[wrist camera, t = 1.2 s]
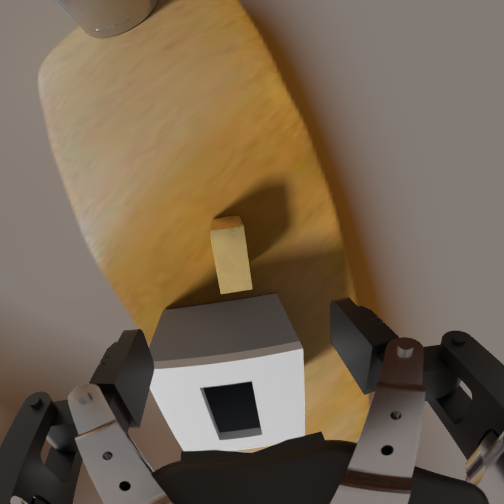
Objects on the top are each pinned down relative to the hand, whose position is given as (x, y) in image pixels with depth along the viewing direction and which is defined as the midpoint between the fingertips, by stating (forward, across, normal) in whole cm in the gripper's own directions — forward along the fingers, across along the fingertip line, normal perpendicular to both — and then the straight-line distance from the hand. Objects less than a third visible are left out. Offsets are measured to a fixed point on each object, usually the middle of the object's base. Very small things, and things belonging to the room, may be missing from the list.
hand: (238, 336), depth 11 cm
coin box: (+16, +2, +12) cm, 20 cm away
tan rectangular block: (+13, 0, 0) cm, 13 cm away
